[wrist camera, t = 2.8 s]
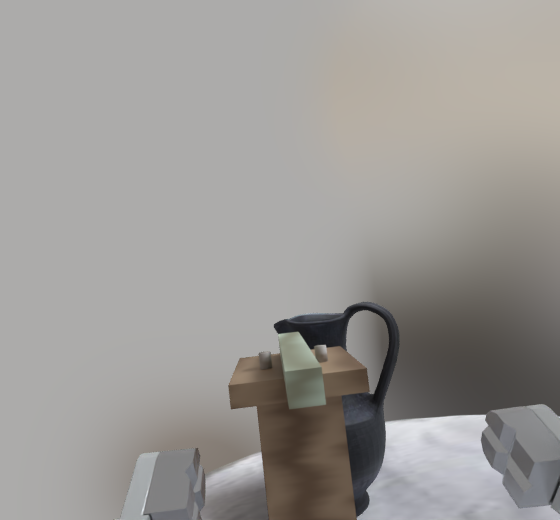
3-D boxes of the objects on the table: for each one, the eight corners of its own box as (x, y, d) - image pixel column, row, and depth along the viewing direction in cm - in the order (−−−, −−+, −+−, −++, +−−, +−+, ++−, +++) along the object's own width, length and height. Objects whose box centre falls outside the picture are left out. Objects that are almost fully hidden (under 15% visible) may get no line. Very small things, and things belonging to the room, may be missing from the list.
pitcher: (305, 468, 68) (286, 306, 70) (424, 479, 60) (399, 295, 62) (264, 529, 52) (242, 317, 54) (420, 555, 44) (386, 305, 46)
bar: (300, 352, 43) (298, 331, 43) (326, 404, 24) (321, 367, 24) (280, 355, 42) (278, 334, 43) (289, 409, 24) (284, 371, 24)
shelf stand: (368, 575, 42) (338, 333, 44) (408, 690, 30) (364, 350, 32) (264, 590, 41) (238, 345, 43) (261, 713, 30) (226, 367, 31)
